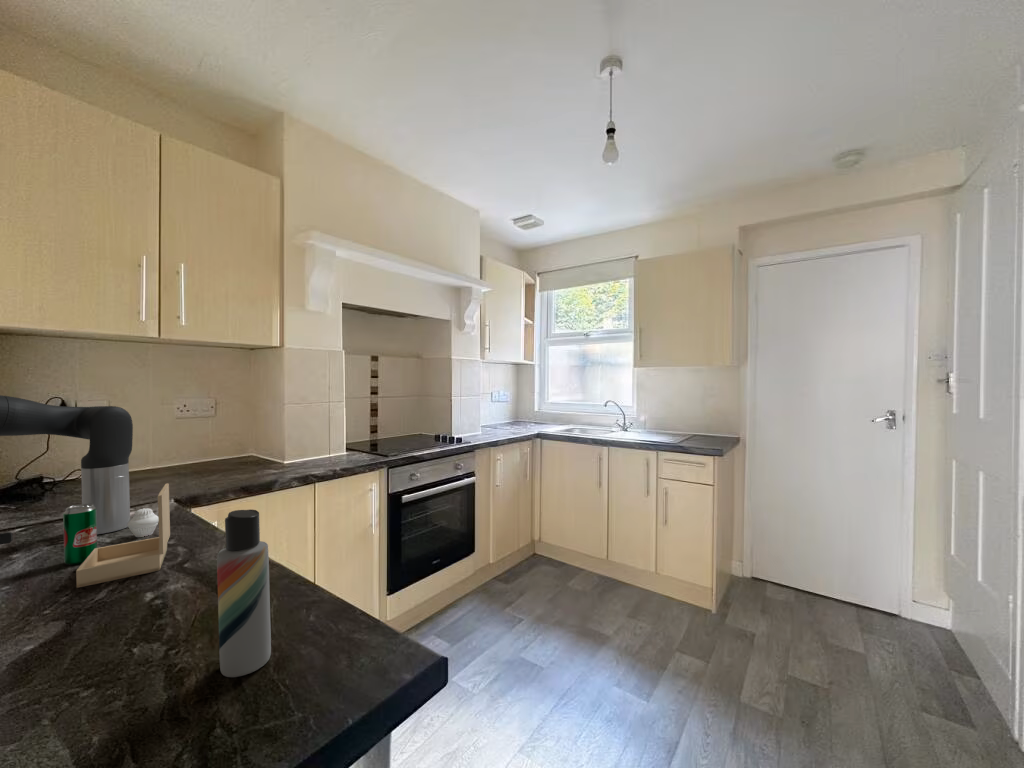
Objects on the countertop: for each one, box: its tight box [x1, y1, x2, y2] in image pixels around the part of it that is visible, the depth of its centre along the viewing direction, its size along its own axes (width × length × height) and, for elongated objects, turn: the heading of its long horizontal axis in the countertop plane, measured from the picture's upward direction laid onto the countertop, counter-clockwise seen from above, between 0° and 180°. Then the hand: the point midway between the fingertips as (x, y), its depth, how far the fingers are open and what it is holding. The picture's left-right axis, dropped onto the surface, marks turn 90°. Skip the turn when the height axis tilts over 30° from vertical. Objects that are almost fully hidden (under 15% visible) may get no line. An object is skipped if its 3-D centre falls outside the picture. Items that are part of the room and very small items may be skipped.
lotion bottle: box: [216, 509, 272, 678], centre depth 55 cm, size 6×6×20 cm
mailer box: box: [75, 483, 171, 589], centre depth 88 cm, size 14×13×15 cm
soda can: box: [62, 503, 98, 566], centre depth 92 cm, size 5×5×12 cm
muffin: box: [127, 507, 159, 538], centre depth 107 cm, size 6×6×7 cm
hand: (3, 543), depth 85 cm, fingers open, 8 cm apart
